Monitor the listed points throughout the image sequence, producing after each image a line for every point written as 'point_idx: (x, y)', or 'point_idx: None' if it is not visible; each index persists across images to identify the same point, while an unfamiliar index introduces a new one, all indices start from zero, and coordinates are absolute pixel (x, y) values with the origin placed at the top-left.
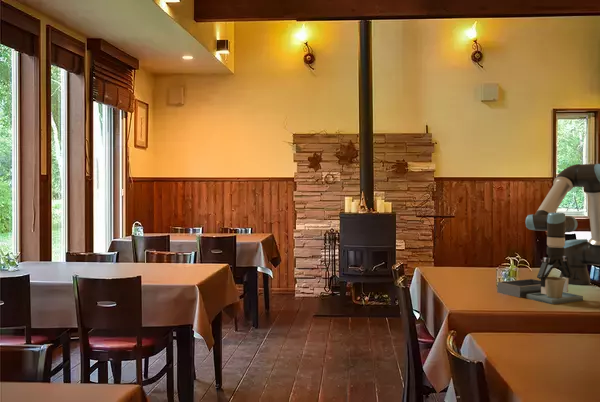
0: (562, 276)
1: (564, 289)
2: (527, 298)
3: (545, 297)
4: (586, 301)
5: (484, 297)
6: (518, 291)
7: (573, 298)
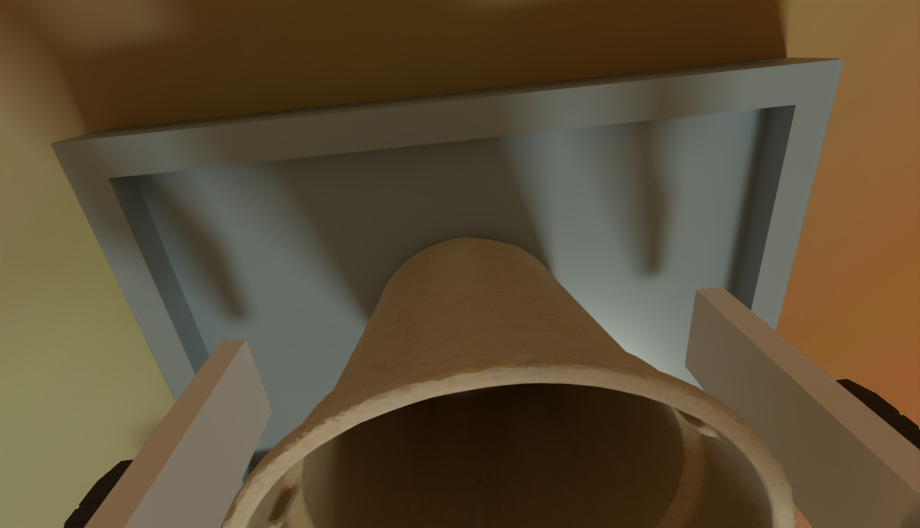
0: None
1: (248, 399)
2: None
3: None
4: (83, 49)
5: None
6: None
7: (306, 115)
